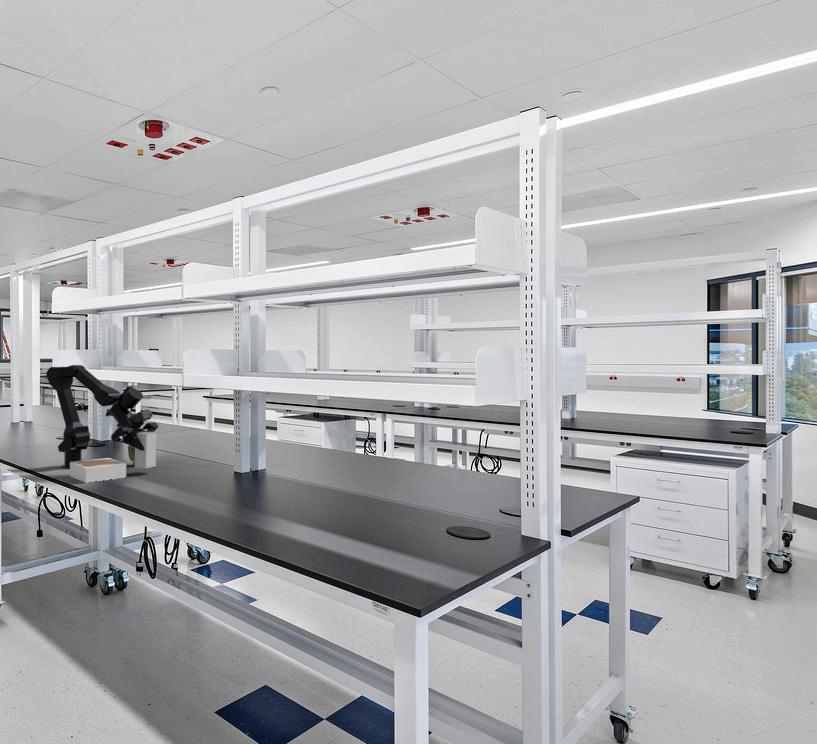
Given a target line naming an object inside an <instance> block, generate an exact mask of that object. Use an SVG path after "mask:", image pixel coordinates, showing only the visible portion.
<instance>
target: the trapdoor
mask: <svg viewBox="0 0 817 744" xmlns="http://www.w3.org/2000/svg"><path fill="white" fill-rule="evenodd" d="M100 459H101V460H94V459H91V460H92V461H85V460H82V461H83V462H77V463H78V464H81V465H84V466H86V467H96V466H104V465H113V464H120V463H117V462H114V461H111V460H108V459H103V458H100Z"/></svg>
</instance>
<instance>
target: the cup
mask: <svg viewBox="0 0 817 744" xmlns="http://www.w3.org/2000/svg"><path fill="white" fill-rule="evenodd" d="M127 453H128V459H129V461H131V462H132V465H133V466H134V467H135V447H132V446H130V445H127Z"/></svg>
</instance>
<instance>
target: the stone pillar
mask: <svg viewBox="0 0 817 744" xmlns="http://www.w3.org/2000/svg"><path fill="white" fill-rule="evenodd" d="M137 438H138V439H139V441H140V442H141V444H142V445H143V447H144V450H143V451H141V450H139V449H137V448H135V466H134V468H139V469H149V468H153V467H156V465H157V459H156V458H157V432H156V431H154V432H140V433H137Z"/></svg>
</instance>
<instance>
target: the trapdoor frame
mask: <svg viewBox="0 0 817 744" xmlns="http://www.w3.org/2000/svg"><path fill="white" fill-rule="evenodd" d="M101 459H108V460H111V461H114V462H117V463H120V464H113V465H104V466H96V467H86V466H84V465H81V464H78V463H77V462H83V461H92V460H101ZM69 477H70V478H73V479H76V480H78V481H80V482H83V483H84V482H85V484H88V483H89V482H90V483H96V482H95V481H97V482H102V481H103V480H104V481H111V480H110V479H112V480H118V478H119V479H125V477H126V478H127V463H125V462H122V461H119V460H117V459H114V458H111V457H106V458H105V457H103V458H95V459H87V460H82V461H75V462H70V468H69ZM104 481H103V482H104ZM90 483H89V484H90Z"/></svg>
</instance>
